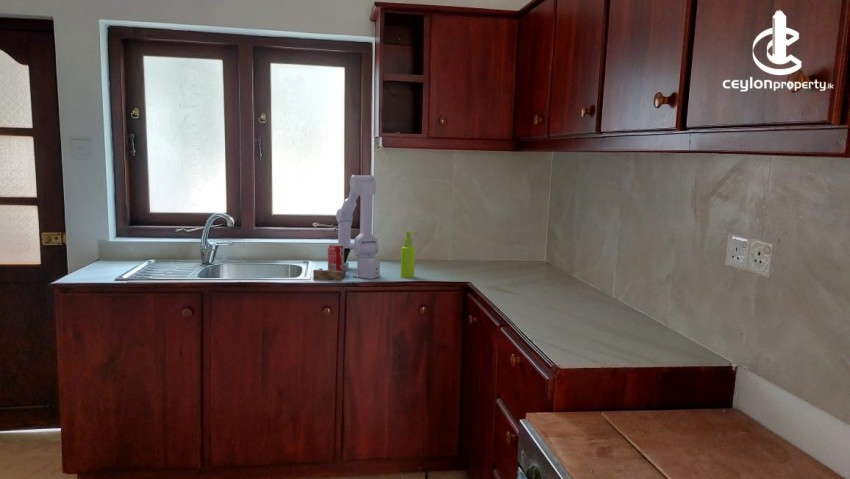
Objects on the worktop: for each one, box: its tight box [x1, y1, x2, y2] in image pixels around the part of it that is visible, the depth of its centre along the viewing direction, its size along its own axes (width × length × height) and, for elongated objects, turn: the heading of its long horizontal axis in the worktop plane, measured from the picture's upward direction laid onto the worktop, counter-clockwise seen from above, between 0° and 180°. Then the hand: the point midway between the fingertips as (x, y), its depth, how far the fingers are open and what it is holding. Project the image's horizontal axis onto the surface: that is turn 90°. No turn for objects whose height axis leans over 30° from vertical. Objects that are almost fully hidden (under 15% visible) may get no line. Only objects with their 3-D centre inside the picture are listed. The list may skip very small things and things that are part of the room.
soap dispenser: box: [400, 230, 419, 279], centre depth 257 cm, size 6×7×20 cm
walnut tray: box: [312, 267, 347, 282], centre depth 250 cm, size 11×10×4 cm
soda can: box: [327, 243, 344, 271], centre depth 260 cm, size 7×7×13 cm
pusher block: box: [344, 262, 350, 272], centre depth 269 cm, size 7×6×3 cm
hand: (344, 264), depth 276 cm, fingers closed
